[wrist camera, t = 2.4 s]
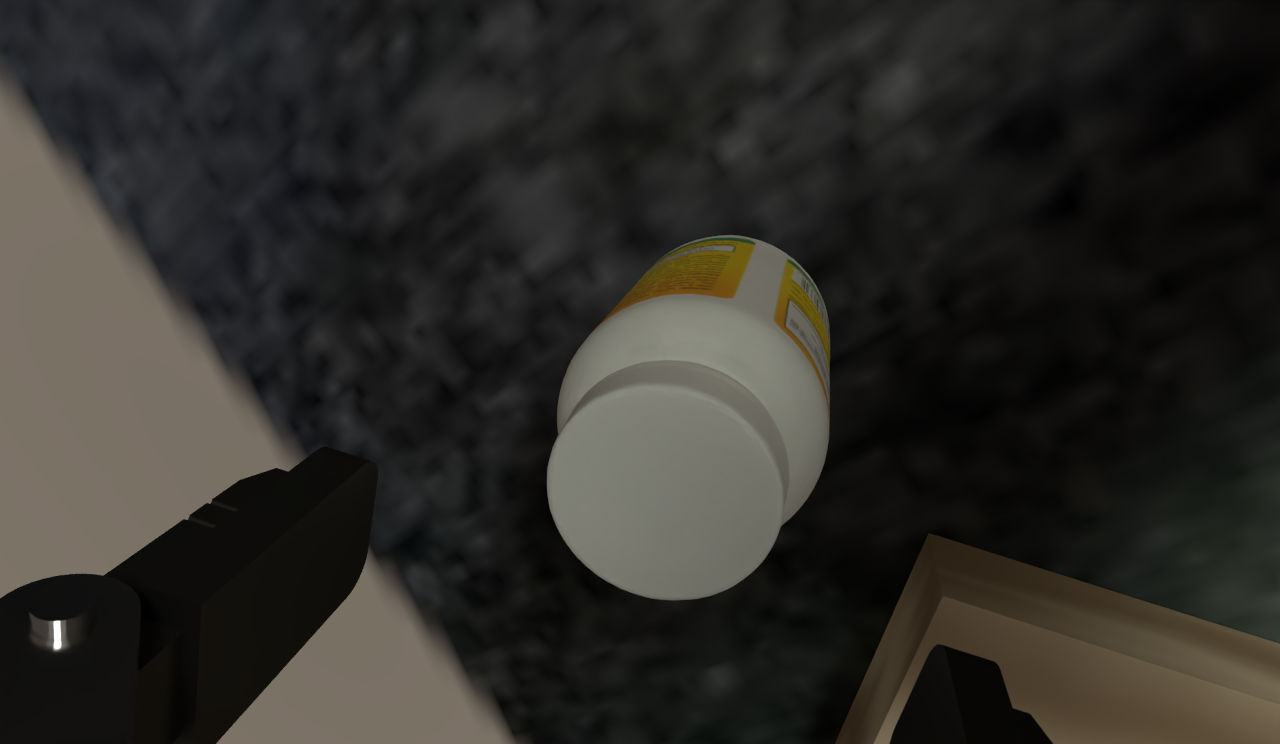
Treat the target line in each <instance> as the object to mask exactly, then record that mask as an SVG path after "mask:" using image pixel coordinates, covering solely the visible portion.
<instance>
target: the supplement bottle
mask: <svg viewBox="0 0 1280 744" xmlns="http://www.w3.org/2000/svg"><path fill="white" fill-rule="evenodd" d="M829 422H830V329H829V321H828V315H827V311H826V308H825V304H824V302H823V299H822V297H821V294H820V292H819V290H818V288H817V287H816V285H815V283H814V282H813V280H812V279H811V277H810V276H809V275H808V273H807V272H806V271H805V270H804V269H803V268H802V267H801V266H800V265H799V264H798V263H797V262H796V261H795V260H794V259H793V258H791V257H790V256H789V255H787V254H786V253H784V252H783V251H781V250H780V249H778V248H776V247H774V246H772V245H770V244H768V243H765V242H763V241H760V240H756V239H752V238H749V237H744V236H735V235H724V236H714V237H708V238H703V239H699V240H695V241H692V242H689V243H686V244H684V245H682V246H680V247H678V248H676V249H674V250H672V251H671V252H669V253H667V254H666V255H665V256H663V257H662V258H661V259H659V260H658V261H657V262H656V263H655V264H654V265H653V266H651V267H650V268H649V269H648V271H647V272H646V273H645V274H644V275H643V277H642V278H641V279H640V280H639V281H638V282H637V283H636V284H635V286H634V287H633V288H632V289H631V290H630V291H629V292H628V293H627V295H626V296H625V297H624V298H623V299H622V300H621V301H620V302H619V303H618V304H617V306H616V307H615V308H614V309H613V310H612V311H611V312H610V313H609V314H608V315H607V317H606V318H604V320H603V321H602V322H601V323H600V324H599V325H598V326H597V327H596V329H595V330H594V331H593V332H592V333H591V334H590V335H589V336H588V338H587V339H586V340H585V341H584V343H583V344H582V345H581V347H580V348H579V349H578V351H577V352H576V354H575V355H574V357H573V359H572V361H571V363H570V365H569V367H568V369H567V372H566V374H565V377H564V379H563V383H562V386H561V390H560V394H559V400H558V407H557V427H558V437H557V439H556V441H555V443H554V446H553V448H552V452H551V455H550V459H549V463H548V467H547V495H548V502H549V507H550V510H551V514H552V516H553V519H554V522H555V524H556V527H557V529H558V530H559V532H560V534H561V536H562V538H563V539H564V541H565V542H566V544H567V545H568V547H569V548H570V549H571V551H572V552H573V553H574V554H575V556H576V557H577V558H578V559H579V560H580V561H581V562H582V563H583V564H584V565H585V566H587V567H588V568H589V569H590V570H591V571H593V572H594V573H595V574H596V575H598V576H599V577H601V578H602V579H604V580H606V581H607V582H609V583H611V584H613V585H615V586H617V587H619V588H620V589H623V590H626V591H628V592H630V593H634V594H637V595H640V596H644V597H648V598H653V599H661V600H689V599H699V598H703V597H708V596H711V595H715V594H717V593H719V592H722V591H724V590H727V589H729V588H731V587H732V586H734V585H736V584H737V583H739V582H740V581H742V580H743V579H745V578H746V577H747V576H748V575H750V574H751V573H752V572H753V571H754V570H755V569H756V568H757V567H758V566H759V565H760V564H761V563H762V562H763V560H764V559H765V558H766V556H767V555H768V553H769V552H770V550H771V548H772V547H773V545H774V543H775V540H776V538H777V536H778V533H779V530H780V528H781V526H782V525H783V524H784V523H785V522H786V521H788V520H789V519H790V518H791V517H792V516H793V515H794V514H795V513H796V512H797V511H798V510H799V509H800V507H801V506H802V505H803V504H804V502H805V501H806V500H807V498H808V497H809V495H810V494H811V492H812V490H813V489H814V487H815V485H816V483H817V481H818V479H819V476H820V474H821V471H822V468H823V465H824V462H825V458H826V453H827V448H828V441H829Z"/></svg>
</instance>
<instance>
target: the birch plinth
mask: <svg viewBox="0 0 1280 744" xmlns="http://www.w3.org/2000/svg"><path fill="white" fill-rule="evenodd" d="M938 644H941V645H944V646H948V647H951V648H954V649H957V650H960V651H963V652H966V653H969V654H973V655H976V656H979V657H982V658H985V659H988V660H991V661H995V662H996V663H997V664H998V666H999V667H1000V670H1001V673H1002V676H1003V679H1004V682H1005V685H1006V688H1007V692H1008V695H1009V698H1010V701H1011V704H1012V707H1013V708H1014V709H1017V710H1020V711H1023V712H1026V713H1030V714H1031V715H1032V717H1033V718H1034V719H1035V721H1036V722H1037V723H1038V724H1039V726H1040V727H1041V728H1042V730H1043V731H1044V732H1045V734H1046V735H1047V736H1048V737H1049V739H1050V740H1051V741H1052V743H1053V744H1280V644H1279V643H1276V642H1272V641H1269V640H1266V639H1263V638H1260V637H1257V636H1253V635H1250V634H1247V633H1244V632H1241V631H1238V630H1234V629H1231V628H1228V627H1225V626H1222V625H1219V624H1215V623H1212V622H1209V621H1206V620H1203V619H1200V618H1196V617H1193V616H1190V615H1187V614H1184V613H1181V612H1177V611H1174V610H1171V609H1168V608H1165V607H1162V606H1158V605H1155V604H1152V603H1149V602H1146V601H1143V600H1139V599H1136V598H1133V597H1130V596H1127V595H1123V594H1120V593H1117V592H1114V591H1111V590H1108V589H1104V588H1101V587H1098V586H1095V585H1092V584H1089V583H1085V582H1082V581H1079V580H1076V579H1073V578H1070V577H1066V576H1063V575H1060V574H1057V573H1054V572H1051V571H1047V570H1044V569H1041V568H1038V567H1035V566H1032V565H1028V564H1025V563H1022V562H1019V561H1016V560H1013V559H1009V558H1006V557H1003V556H1000V555H997V554H994V553H990V552H987V551H984V550H981V549H978V548H975V547H971V546H968V545H965V544H962V543H959V542H956V541H952V540H949V539H946V538H943V537H940V536H937V535H933V534H930V533H928V536H927V538H926V540H925V542H924V545H923V547H922V549H921V551H920V554H919V556H918V558H917V560H916V563H915V565H914V567H913V569H912V572H911V574H910V576H909V578H908V581H907V583H906V585H905V587H904V590H903V592H902V594H901V596H900V598H899V601H898V603H897V605H896V607H895V610H894V612H893V614H892V616H891V619H890V621H889V623H888V625H887V628H886V630H885V632H884V634H883V637H882V639H881V641H880V643H879V646H878V648H877V650H876V652H875V655H874V657H873V659H872V661H871V664H870V666H869V668H868V670H867V673H866V675H865V677H864V679H863V682H862V684H861V686H860V688H859V690H858V693H857V695H856V697H855V699H854V702H853V704H852V706H851V708H850V711H849V713H848V715H847V717H846V720H845V722H844V724H843V726H842V729H841V731H840V733H839V735H838V738H837V740H836V742H835V744H890V740H891V737H892V734H893V731H894V728H895V726H896V724H897V722H898V719H899V717H900V715H901V713H902V711H903V709H904V706H905V704H906V702H907V700H908V698H909V696H910V693H911V691H912V689H913V687H914V685H915V682H916V680H917V678H918V676H919V674H920V672H921V669H922V667H923V665H924V663H925V661H926V659H927V657H928V655H929V653H930V651H931V650H932V649H933V647H934V646H936V645H938Z"/></svg>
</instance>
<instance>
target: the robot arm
mask: <svg viewBox="0 0 1280 744" xmlns="http://www.w3.org/2000/svg"><path fill="white" fill-rule="evenodd" d="M377 480H378V469H377V465H376V464H375V463H374V462H372V461H369V460H366V459H363V458H360V457H357V456H354V455H350V454H347V453H344V452H341V451H338V450H335V449H332V448H328V447H322V448H320V449H318V450H317V451H315V452H314V453H313V454H311V455H310V456H309V457H307V458H306V459H305V460H303V461H302V462H301V463H299V464H298V465H297V466H295V467H294V468H293V469H291V470H290V471H289V472H287V471H284V470H281V469H278V468H275V469H272V470H269V471H266V472H263V473H260V474H257V475H254V476H251V477H248V478H245V479H242V480H239V481H238V482H236V483H235V484H233V485H232V486H231V487H229V488H228V489H226V490H225V491H223V492H222V493H221V494H219V495H218V496H216V497H215V498H213V499H212V502H211V504H208V503H207V504H205V505H203V506H202V507H201V508H199V509H198V510H196V511H195V512H194V513H192V514H191V515H190V517H189V519H188V520H185V519H184V520H182V521H181V522H179V523H178V524H176V525H175V526H174V527H172V528H171V529H169V530H168V531H166V532H165V533H164V534H162V535H161V536H159V537H158V538H157V539H155V540H154V541H152V542H151V543H149V544H148V545H147V546H145V547H144V548H142V549H141V550H140V551H138V552H137V553H135V554H134V555H132V556H131V557H129V558H128V559H127V560H125V561H124V562H122V563H121V564H120V565H118V566H117V567H115V568H114V569H112V570H111V571H110V572H108V573H107V574H105V575H104V576H101V575H95V574H94V575H93V574H69V575H60V576H54V577H50V578H45V579H42V580H38V581H35V582H31V583H29V584H27V585H24V586H22V587H19V588H17V589H15V590H13V591H11V592H10V593H8V594H6V595H5V596H3V597H2V598H0V744H216V743H217V742H218V741H219V739H220V738H221V737H222V736H223V735H224V734H225V733H226V732H227V731H228V730H229V728H230V727H231V726H232V725H233V724H234V723H235V722H236V721H237V719H238V718H239V717H240V716H241V715H242V714H243V713H244V711H245V710H246V709H247V708H248V707H249V706H250V705H251V704H252V703H253V701H254V700H255V699H256V698H257V697H258V696H259V695H260V694H261V693H262V691H263V690H264V689H265V688H266V687H267V686H268V685H269V684H270V683H271V681H272V680H273V679H274V678H275V677H276V676H277V675H278V674H279V673H280V671H281V670H282V669H283V668H284V667H285V666H286V665H287V664H288V662H289V661H290V660H291V659H292V658H293V657H294V656H295V655H296V654H297V652H298V651H299V650H300V649H301V648H302V647H303V646H304V645H305V644H306V642H307V641H308V640H309V639H310V638H311V637H312V636H313V635H314V634H315V632H316V631H317V630H318V629H319V628H320V627H321V626H322V625H323V623H324V622H325V621H326V620H327V619H328V618H329V617H330V615H332V613H333V612H334V611H335V610H336V609H337V608H338V607H339V606H340V604H341V603H342V602H343V601H344V600H345V599H346V598H347V597H348V595H349V594H350V593H351V591H352V590H353V588H354V587H355V585H356V583H357V581H358V579H359V577H360V575H361V573H362V570H363V567H364V564H365V561H366V557H367V553H368V546H369V539H370V531H371V524H372V517H373V509H374V502H375V495H376V487H377ZM890 744H1053V743H1052V741H1051V740H1050V739H1049V737H1048V736H1047V735H1046V734H1045V732H1044V731H1043V730H1042V728H1041V727H1040V726H1039V724H1038V723H1037V722H1036V721H1035V719H1034V718H1033V717H1032V715H1031V714H1030V713H1026V712H1023V711H1020V710H1017V709H1014V708H1013V707H1012V704H1011V701H1010V698H1009V695H1008V692H1007V688H1006V685H1005V682H1004V679H1003V676H1002V673H1001V670H1000V667H999V666H998V664H997V663H996V662H995V661H991V660H988V659H985V658H982V657H979V656H976V655H973V654H969V653H966V652H963V651H960V650H957V649H954V648H951V647H948V646H944V645H941V644H938V645H936V646H934V647H933V649H932V650H931V651H930V653H929V655H928V657H927V659H926V661H925V663H924V665H923V667H922V669H921V672H920V674H919V676H918V678H917V680H916V682H915V685H914V687H913V689H912V691H911V693H910V696H909V698H908V700H907V702H906V704H905V706H904V709H903V711H902V713H901V715H900V717H899V719H898V722H897V724H896V726H895V728H894V731H893V734H892V737H891V740H890Z"/></svg>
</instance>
